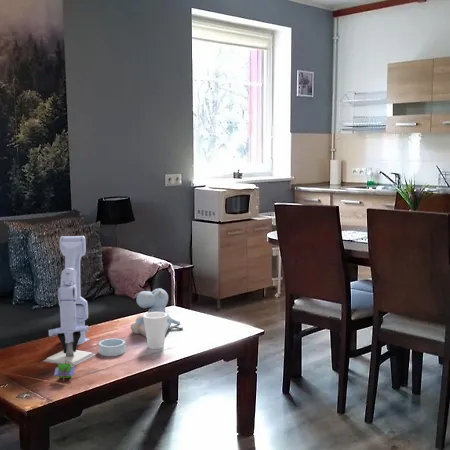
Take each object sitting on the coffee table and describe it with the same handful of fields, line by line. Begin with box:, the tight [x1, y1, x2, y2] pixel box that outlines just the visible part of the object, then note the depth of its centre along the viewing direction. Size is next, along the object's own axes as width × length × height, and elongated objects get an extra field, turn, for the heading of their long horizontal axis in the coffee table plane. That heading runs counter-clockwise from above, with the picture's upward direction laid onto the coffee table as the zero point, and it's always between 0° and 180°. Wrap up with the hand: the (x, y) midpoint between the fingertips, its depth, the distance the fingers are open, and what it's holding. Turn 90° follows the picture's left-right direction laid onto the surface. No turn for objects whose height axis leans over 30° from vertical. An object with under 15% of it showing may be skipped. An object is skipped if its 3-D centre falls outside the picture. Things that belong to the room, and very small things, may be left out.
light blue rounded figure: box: [129, 287, 184, 338], centre depth 262 cm, size 18×23×18 cm
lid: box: [46, 341, 93, 365], centre depth 229 cm, size 12×12×6 cm
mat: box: [43, 353, 97, 367], centre depth 230 cm, size 14×14×1 cm
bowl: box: [98, 337, 126, 357], centre depth 236 cm, size 10×10×4 cm
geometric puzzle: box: [53, 360, 76, 383], centre depth 208 cm, size 7×7×8 cm
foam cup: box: [142, 312, 168, 350], centre depth 242 cm, size 10×9×13 cm
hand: (69, 351), depth 230 cm, fingers closed on lid, 3 cm apart
